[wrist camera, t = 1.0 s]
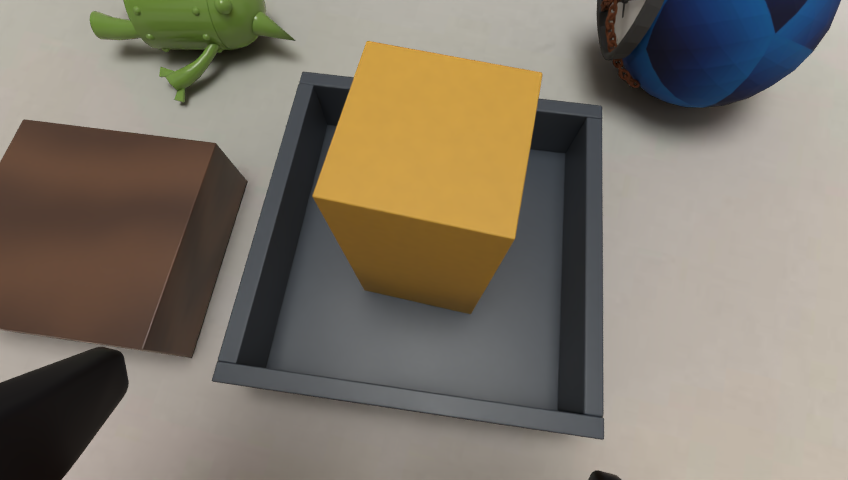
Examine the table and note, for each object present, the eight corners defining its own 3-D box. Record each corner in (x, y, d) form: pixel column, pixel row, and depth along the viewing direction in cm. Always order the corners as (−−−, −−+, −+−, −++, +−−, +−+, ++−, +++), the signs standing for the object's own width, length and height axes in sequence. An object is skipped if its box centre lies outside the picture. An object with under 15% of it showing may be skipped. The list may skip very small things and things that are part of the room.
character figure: (58, -130, 23) (280, -128, 23) (125, -68, 28) (306, -67, 28) (68, 91, 24) (283, 93, 24) (131, 112, 29) (308, 113, 29)
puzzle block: (471, 314, 22) (515, 239, 11) (363, 290, 22) (311, 196, 12) (490, 214, 23) (542, 72, 13) (390, 194, 24) (366, 39, 14)
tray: (570, 431, 20) (604, 440, 16) (249, 384, 21) (210, 381, 17) (575, 149, 26) (602, 105, 22) (319, 118, 26) (302, 70, 22)
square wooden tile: (192, 358, 21) (142, 349, 18) (2, 330, 22) (-85, 316, 18) (247, 181, 25) (215, 142, 21) (82, 160, 25) (23, 119, 21)
